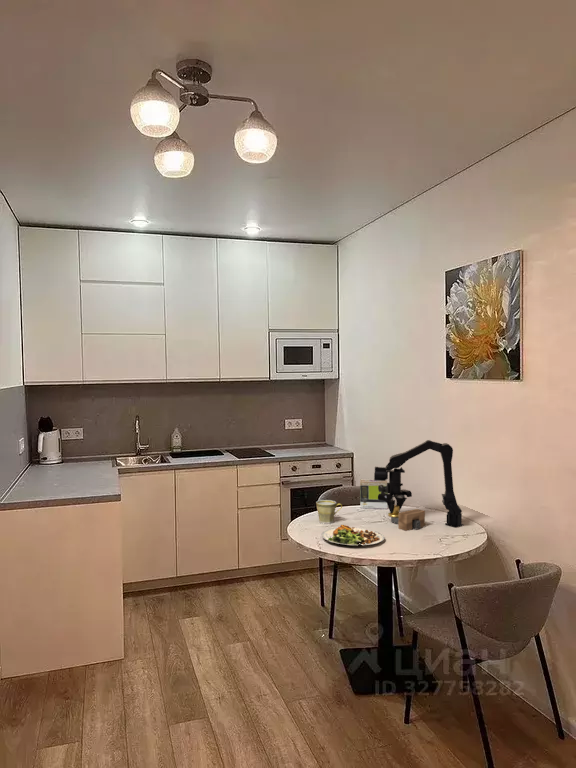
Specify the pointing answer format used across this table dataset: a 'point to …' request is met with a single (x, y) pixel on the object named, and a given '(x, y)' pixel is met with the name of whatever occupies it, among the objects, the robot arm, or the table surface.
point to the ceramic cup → (326, 510)
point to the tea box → (371, 494)
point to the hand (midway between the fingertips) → (394, 512)
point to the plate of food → (352, 535)
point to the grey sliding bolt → (395, 518)
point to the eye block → (407, 518)
